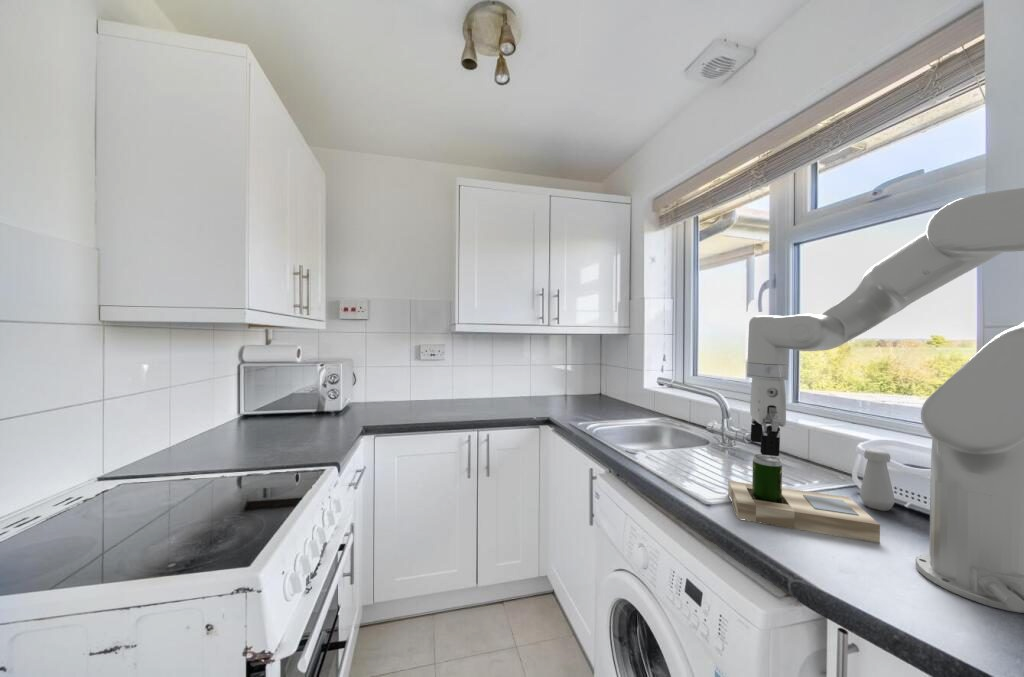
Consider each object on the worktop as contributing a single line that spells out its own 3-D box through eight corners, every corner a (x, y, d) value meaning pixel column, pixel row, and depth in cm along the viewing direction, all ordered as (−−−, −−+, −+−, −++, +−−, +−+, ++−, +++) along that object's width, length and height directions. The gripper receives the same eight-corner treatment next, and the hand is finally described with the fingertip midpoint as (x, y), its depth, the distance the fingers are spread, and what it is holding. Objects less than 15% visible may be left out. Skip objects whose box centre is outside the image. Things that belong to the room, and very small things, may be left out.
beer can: (758, 516, 80) (759, 460, 80) (748, 505, 85) (748, 453, 85) (786, 518, 78) (787, 462, 78) (774, 507, 84) (774, 454, 84)
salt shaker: (889, 504, 85) (890, 448, 85) (899, 515, 81) (900, 455, 80) (855, 499, 88) (856, 444, 88) (863, 508, 83) (863, 451, 83)
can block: (879, 543, 69) (880, 523, 69) (738, 519, 78) (738, 501, 78) (848, 512, 81) (848, 496, 81) (728, 495, 90) (728, 479, 90)
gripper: (801, 377, 72) (797, 463, 73) (776, 369, 88) (773, 440, 89) (756, 374, 75) (752, 457, 76) (740, 367, 91) (737, 435, 92)
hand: (763, 448), depth 82 cm, fingers open, 9 cm apart
